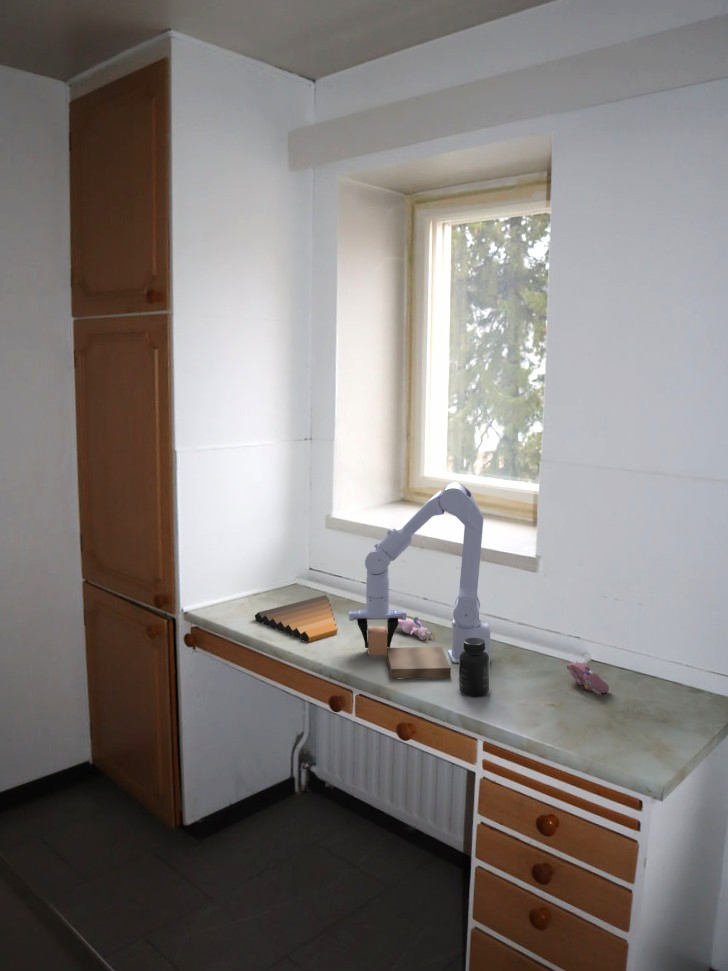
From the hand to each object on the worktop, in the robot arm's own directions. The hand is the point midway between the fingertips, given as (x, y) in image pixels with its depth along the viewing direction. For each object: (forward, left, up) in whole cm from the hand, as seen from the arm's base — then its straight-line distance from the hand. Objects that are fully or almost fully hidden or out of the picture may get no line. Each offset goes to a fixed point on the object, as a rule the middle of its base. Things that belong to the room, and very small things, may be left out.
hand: (377, 646), depth 208 cm
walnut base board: (-9, +11, -1) cm, 14 cm away
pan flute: (+16, -25, -2) cm, 30 cm away
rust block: (0, 0, -2) cm, 2 cm away
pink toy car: (-46, +25, -2) cm, 53 cm away
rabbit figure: (-10, -13, -2) cm, 17 cm away
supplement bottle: (-20, +26, -2) cm, 33 cm away
